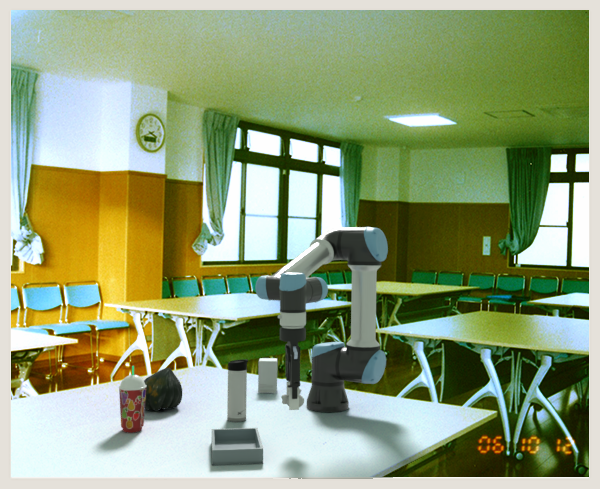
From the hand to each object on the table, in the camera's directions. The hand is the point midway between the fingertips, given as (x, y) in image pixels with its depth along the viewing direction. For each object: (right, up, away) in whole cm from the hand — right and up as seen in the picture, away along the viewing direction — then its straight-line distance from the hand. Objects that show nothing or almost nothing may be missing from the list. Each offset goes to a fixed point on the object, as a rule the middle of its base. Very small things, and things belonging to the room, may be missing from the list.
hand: (292, 406), depth 186 cm
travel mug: (-19, -12, +28) cm, 36 cm away
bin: (-16, -12, -6) cm, 20 cm away
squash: (-47, -11, +41) cm, 64 cm away
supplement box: (-11, -12, +70) cm, 72 cm away
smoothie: (-50, -11, +15) cm, 53 cm away
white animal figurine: (0, -1, 0) cm, 1 cm away
